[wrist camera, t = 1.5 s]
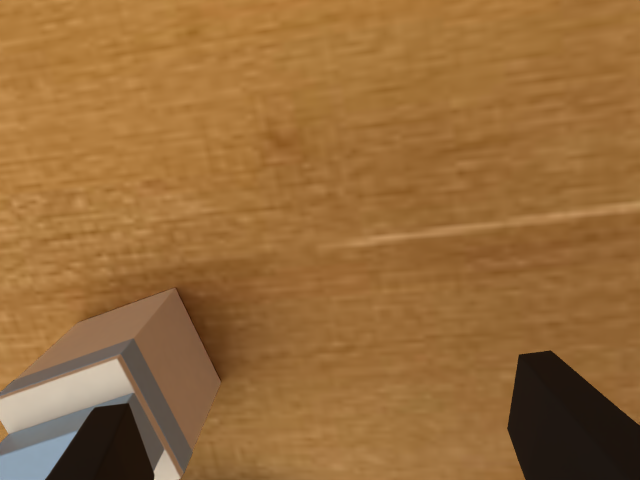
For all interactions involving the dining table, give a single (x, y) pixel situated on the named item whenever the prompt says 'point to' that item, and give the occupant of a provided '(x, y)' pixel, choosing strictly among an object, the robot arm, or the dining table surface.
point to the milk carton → (113, 388)
